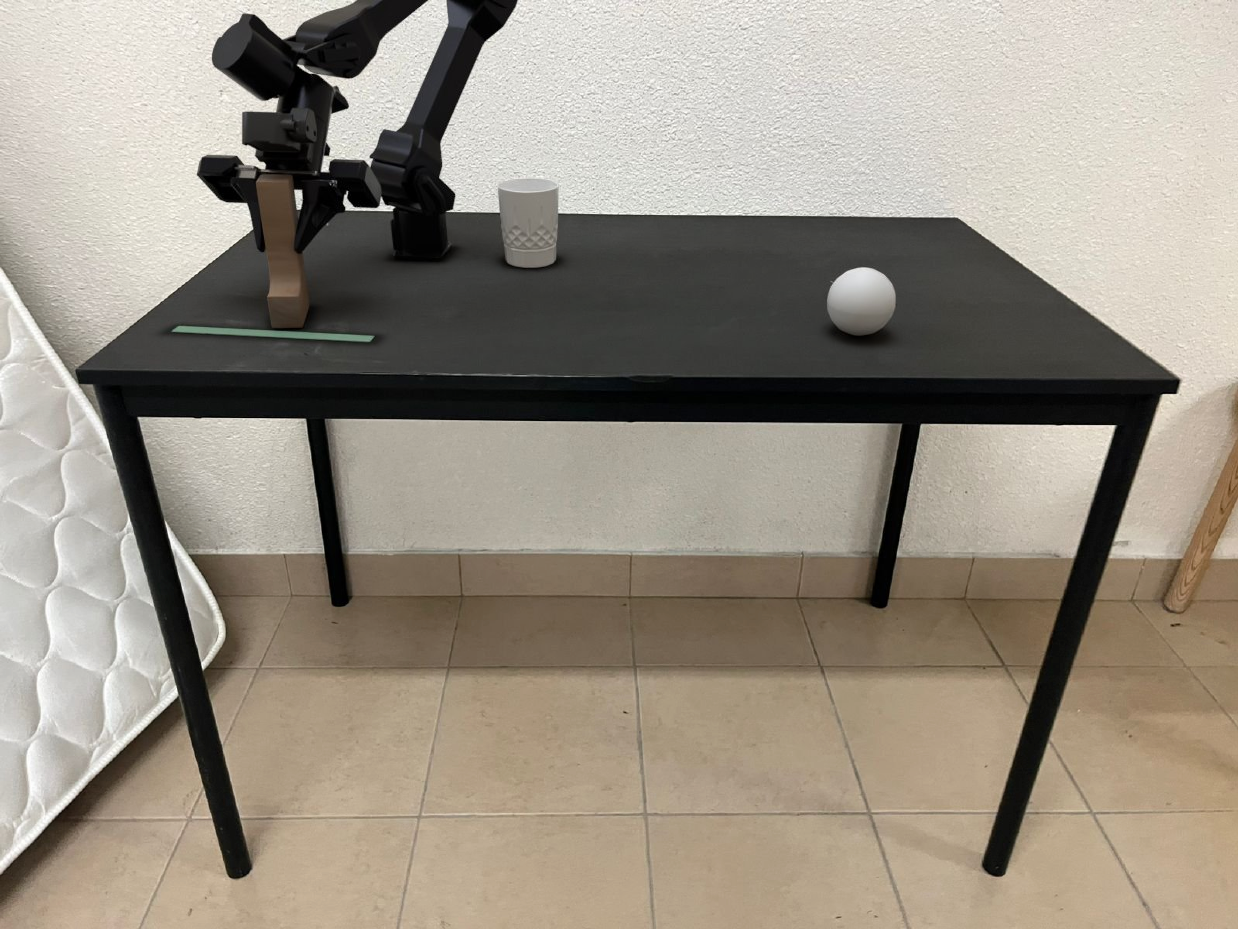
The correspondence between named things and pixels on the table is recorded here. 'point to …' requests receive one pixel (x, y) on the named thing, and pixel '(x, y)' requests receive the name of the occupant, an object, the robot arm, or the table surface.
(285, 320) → the wooden block
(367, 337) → the tape strip
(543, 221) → the white cup
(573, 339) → the table surface
